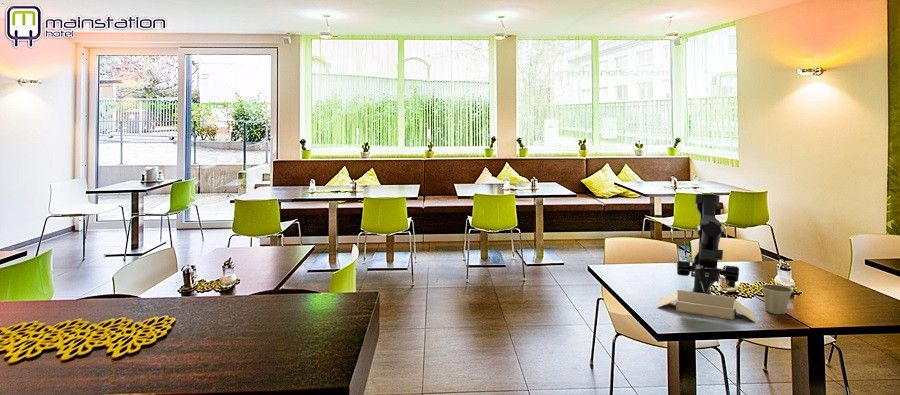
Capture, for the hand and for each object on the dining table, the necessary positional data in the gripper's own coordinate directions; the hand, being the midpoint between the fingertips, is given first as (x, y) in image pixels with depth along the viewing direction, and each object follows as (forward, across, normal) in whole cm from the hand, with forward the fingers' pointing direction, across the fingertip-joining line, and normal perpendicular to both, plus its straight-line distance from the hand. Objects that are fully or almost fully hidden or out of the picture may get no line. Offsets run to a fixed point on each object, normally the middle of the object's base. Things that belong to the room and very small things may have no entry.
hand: (705, 292), depth 173 cm
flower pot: (-9, +22, +23) cm, 33 cm away
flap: (0, 0, +8) cm, 8 cm away
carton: (-3, 0, +17) cm, 17 cm away
